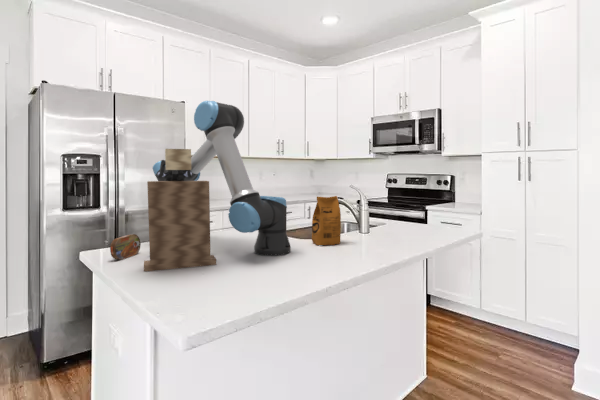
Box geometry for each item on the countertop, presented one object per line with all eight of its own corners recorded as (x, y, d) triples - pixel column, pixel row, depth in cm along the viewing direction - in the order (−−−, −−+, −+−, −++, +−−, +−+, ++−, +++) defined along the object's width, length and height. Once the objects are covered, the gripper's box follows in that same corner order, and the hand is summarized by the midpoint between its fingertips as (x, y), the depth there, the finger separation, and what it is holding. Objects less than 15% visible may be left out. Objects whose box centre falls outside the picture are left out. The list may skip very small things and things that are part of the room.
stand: (213, 260, 138) (212, 180, 135) (216, 264, 132) (214, 181, 129) (144, 266, 129) (141, 181, 127) (143, 271, 123) (140, 182, 120)
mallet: (186, 169, 144) (185, 151, 143) (191, 169, 124) (190, 149, 124) (164, 169, 141) (164, 151, 140) (166, 169, 121) (165, 148, 121)
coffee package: (309, 242, 171) (309, 195, 169) (333, 240, 176) (333, 195, 174) (318, 246, 162) (318, 197, 160) (342, 244, 167) (343, 196, 165)
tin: (116, 262, 135) (115, 239, 134) (108, 261, 136) (107, 239, 135) (141, 253, 150) (140, 232, 149) (134, 252, 150) (134, 232, 150)
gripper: (194, 190, 155) (199, 161, 135) (154, 191, 149) (153, 161, 129) (193, 174, 158) (198, 144, 138) (153, 174, 152) (152, 143, 132)
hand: (176, 152), depth 134 cm, fingers closed on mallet, 3 cm apart
